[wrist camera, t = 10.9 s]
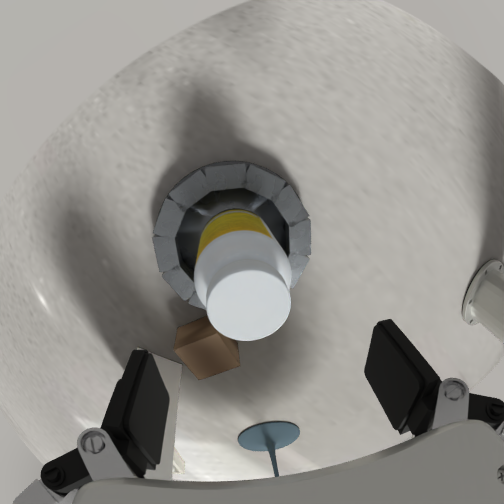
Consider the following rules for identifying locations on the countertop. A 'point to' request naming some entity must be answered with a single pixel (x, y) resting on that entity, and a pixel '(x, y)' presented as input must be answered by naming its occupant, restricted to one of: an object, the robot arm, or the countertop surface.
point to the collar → (222, 198)
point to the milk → (171, 379)
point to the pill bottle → (242, 276)
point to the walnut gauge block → (205, 349)
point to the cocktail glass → (269, 438)
